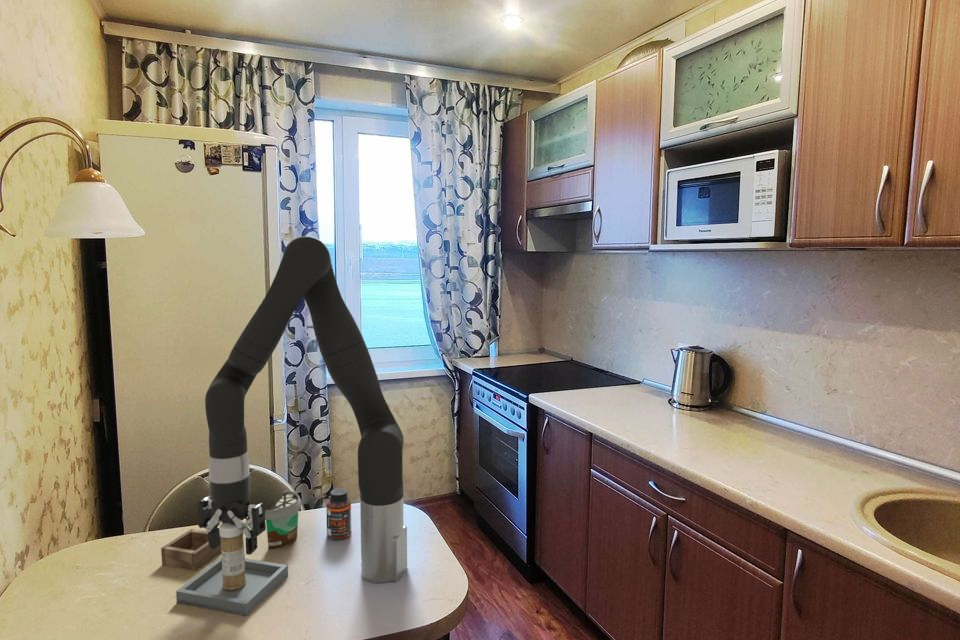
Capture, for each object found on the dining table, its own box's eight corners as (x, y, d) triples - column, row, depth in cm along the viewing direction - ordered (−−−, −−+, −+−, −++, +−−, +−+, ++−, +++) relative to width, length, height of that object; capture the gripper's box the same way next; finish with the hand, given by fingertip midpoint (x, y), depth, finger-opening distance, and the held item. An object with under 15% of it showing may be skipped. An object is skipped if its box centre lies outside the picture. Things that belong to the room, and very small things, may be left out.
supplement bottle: (328, 543, 135) (327, 498, 134) (325, 531, 141) (324, 488, 139) (353, 538, 138) (352, 494, 136) (349, 527, 143) (348, 485, 142)
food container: (292, 552, 131) (290, 511, 130) (265, 552, 131) (264, 511, 130) (309, 527, 143) (308, 489, 142) (285, 526, 143) (284, 489, 142)
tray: (288, 576, 121) (287, 565, 121) (246, 616, 108) (245, 604, 107) (224, 565, 125) (224, 554, 125) (176, 602, 112) (176, 591, 111)
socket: (224, 550, 132) (223, 533, 131) (196, 570, 123) (195, 553, 122) (191, 544, 134) (191, 528, 133) (162, 564, 125) (161, 548, 125)
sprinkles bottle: (246, 577, 119) (243, 517, 118) (245, 589, 115) (243, 527, 113) (222, 581, 118) (220, 520, 116) (221, 593, 113) (218, 530, 112)
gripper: (271, 471, 115) (274, 545, 117) (212, 464, 119) (216, 536, 121) (248, 485, 108) (251, 564, 110) (186, 477, 112) (190, 554, 114)
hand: (233, 549), depth 115 cm, fingers open, 8 cm apart
